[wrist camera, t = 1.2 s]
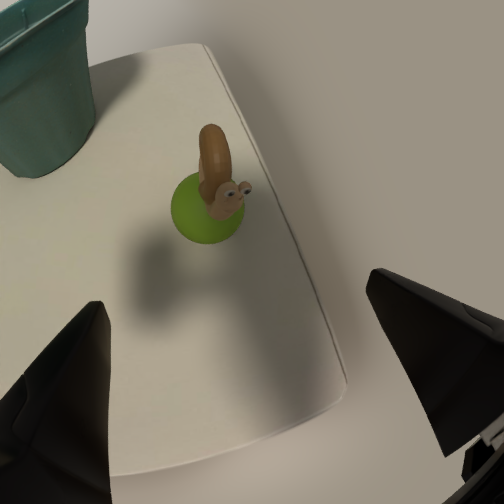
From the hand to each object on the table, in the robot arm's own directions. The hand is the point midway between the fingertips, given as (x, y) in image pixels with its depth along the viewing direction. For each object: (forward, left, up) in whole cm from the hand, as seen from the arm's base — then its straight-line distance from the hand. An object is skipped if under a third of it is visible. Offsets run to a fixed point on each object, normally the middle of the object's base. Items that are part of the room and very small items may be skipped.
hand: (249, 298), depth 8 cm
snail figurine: (+7, -1, -13) cm, 15 cm away
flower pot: (+23, +13, -13) cm, 30 cm away
